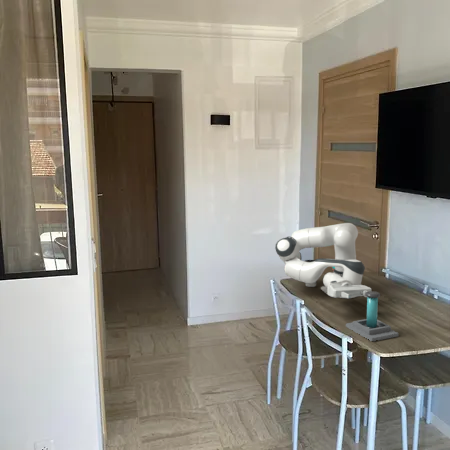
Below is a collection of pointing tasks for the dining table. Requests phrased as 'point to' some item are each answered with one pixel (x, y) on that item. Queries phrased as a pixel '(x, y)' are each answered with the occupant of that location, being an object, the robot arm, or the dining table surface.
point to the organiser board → (372, 330)
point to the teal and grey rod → (372, 309)
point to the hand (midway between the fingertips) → (358, 296)
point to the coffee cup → (313, 282)
